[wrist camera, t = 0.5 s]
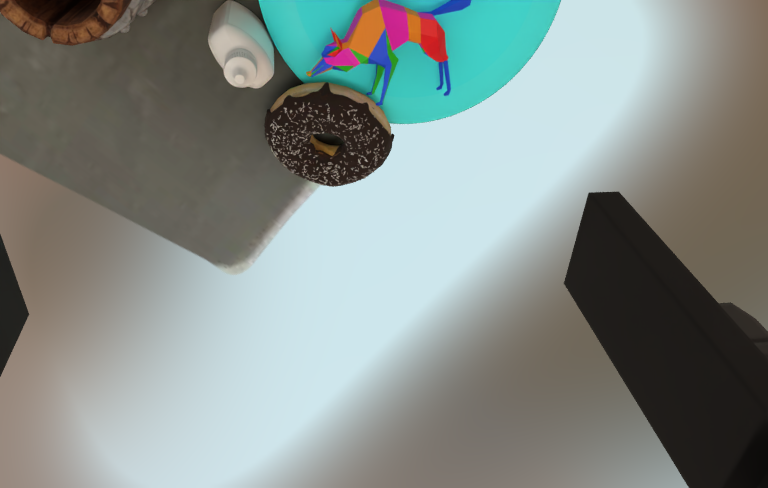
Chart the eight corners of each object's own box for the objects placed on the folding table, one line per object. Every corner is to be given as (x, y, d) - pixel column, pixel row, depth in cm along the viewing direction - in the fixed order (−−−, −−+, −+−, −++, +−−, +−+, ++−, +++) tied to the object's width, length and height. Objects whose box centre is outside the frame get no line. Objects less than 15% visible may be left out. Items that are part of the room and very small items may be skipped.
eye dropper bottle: (259, -9, 54) (258, 34, 44) (277, 55, 57) (279, 108, 47) (209, 2, 54) (196, 48, 44) (229, 65, 57) (222, 120, 47)
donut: (361, 178, 66) (358, 207, 63) (252, 136, 62) (244, 165, 60) (412, 107, 58) (410, 137, 55) (290, 54, 54) (283, 83, 52)
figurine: (307, 103, 56) (294, -5, 52) (467, 82, 59) (467, -21, 54) (313, 115, 52) (300, 1, 48) (483, 93, 55) (484, -17, 51)
